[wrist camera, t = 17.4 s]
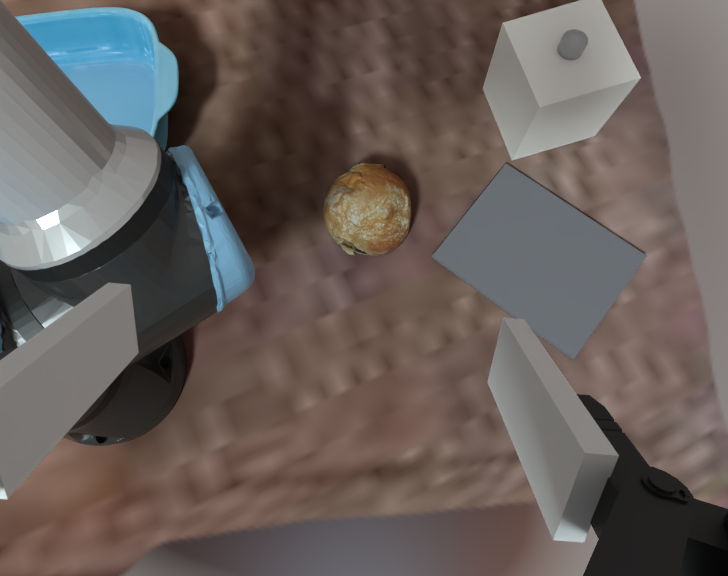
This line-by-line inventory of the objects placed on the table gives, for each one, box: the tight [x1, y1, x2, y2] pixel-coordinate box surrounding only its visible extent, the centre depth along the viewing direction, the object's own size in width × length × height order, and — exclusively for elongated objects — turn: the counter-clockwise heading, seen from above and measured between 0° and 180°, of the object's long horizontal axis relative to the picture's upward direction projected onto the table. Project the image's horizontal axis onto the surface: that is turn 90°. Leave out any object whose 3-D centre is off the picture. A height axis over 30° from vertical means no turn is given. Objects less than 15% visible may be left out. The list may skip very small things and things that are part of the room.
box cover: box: [483, 0, 641, 160], centre depth 48 cm, size 10×10×11 cm
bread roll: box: [323, 163, 411, 256], centre depth 50 cm, size 10×10×8 cm
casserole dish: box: [15, 7, 179, 151], centre depth 53 cm, size 37×22×7 cm, turn 96°
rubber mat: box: [432, 164, 647, 359], centre depth 49 cm, size 18×14×1 cm
